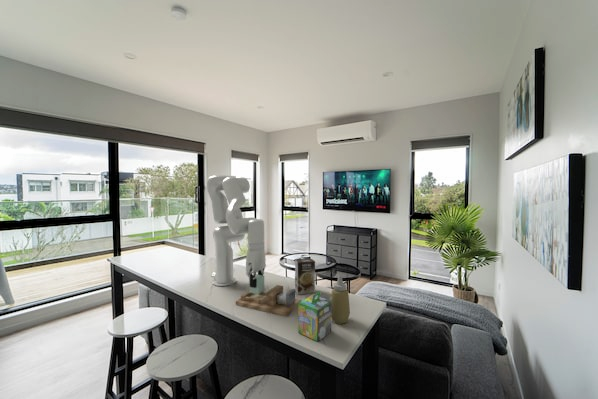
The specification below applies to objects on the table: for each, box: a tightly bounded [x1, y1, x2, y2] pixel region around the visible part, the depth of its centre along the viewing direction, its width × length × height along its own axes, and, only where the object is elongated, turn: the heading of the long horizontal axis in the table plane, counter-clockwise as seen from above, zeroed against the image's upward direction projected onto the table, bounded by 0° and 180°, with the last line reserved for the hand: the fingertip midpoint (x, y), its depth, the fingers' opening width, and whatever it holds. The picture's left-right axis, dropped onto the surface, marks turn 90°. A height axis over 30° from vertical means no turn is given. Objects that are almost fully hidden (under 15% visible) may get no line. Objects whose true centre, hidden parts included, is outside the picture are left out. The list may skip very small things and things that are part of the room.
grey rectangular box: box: [276, 288, 296, 307], centre depth 113 cm, size 11×6×6 cm, turn 66°
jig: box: [235, 284, 302, 317], centre depth 116 cm, size 26×14×7 cm, turn 66°
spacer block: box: [248, 274, 266, 294], centre depth 118 cm, size 5×5×7 cm
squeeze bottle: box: [330, 274, 351, 325], centre depth 101 cm, size 8×8×18 cm
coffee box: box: [294, 258, 316, 295], centre depth 130 cm, size 9×6×16 cm
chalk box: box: [297, 290, 333, 343], centre depth 92 cm, size 9×9×15 cm
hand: (256, 284), depth 118 cm, fingers closed on spacer block, 4 cm apart
